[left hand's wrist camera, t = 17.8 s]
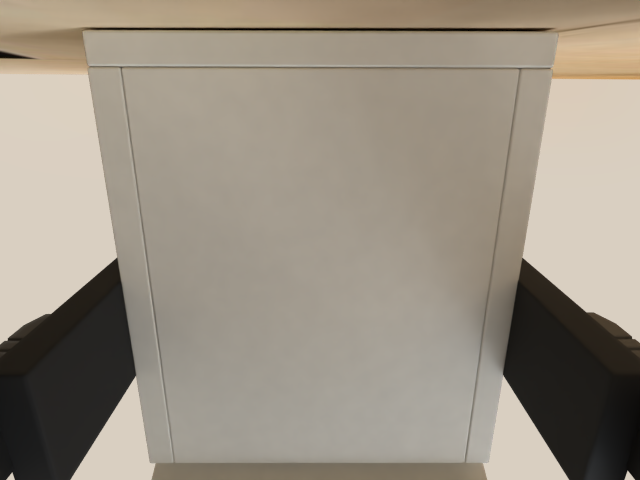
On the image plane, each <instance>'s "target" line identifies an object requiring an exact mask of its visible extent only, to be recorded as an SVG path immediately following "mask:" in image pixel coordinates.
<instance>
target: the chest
mask: <svg viewBox="0 0 640 480" xmlns="http://www.w3.org/2000/svg"><path fill="white" fill-rule="evenodd" d="M82 35H83V41H84V47H85V54H86V60H87V64H88V66H90V67H89V68H88V75H89V81H90V87H91V94H92V100H93V107H94V113H95V119H96V125H97V132H98V138H99V144H100V151H101V157H102V163H103V170H104V176H105V182H106V189H107V195H108V201H109V207H110V214H111V220H112V226H113V233H114V239H115V245H116V252H117V258H118V264H119V271H120V277H121V283H122V290H123V296H124V302H125V309H126V315H127V321H128V327H129V334H130V340H131V346H132V353H133V359H134V365H135V371H136V378H137V384H138V391H139V397H140V403H141V410H142V416H143V422H144V428H145V435H146V441H147V447H148V454H149V460H150V463H174V462H175V463H464V461H465V462H466V463H488V462H489V457H490V451H491V445H492V439H493V433H494V427H495V421H496V414H497V409H498V402H499V396H500V390H501V384H502V378H503V370H504V364H505V358H506V352H507V346H508V339H509V333H510V327H511V321H512V315H513V308H514V302H515V296H516V290H517V284H518V280H519V275H520V268H521V262H522V256H523V250H524V244H525V238H526V232H527V226H528V220H529V214H530V208H531V201H532V195H533V189H534V183H535V177H536V171H537V165H538V159H539V153H540V147H541V141H542V134H543V128H544V122H545V116H546V110H547V104H548V98H549V92H550V86H551V80H552V74H553V70H552V69H550V68H552V67H553V65H554V60H555V54H556V48H557V42H558V36H559V34H558V32H551V31H274V30H84V31H83V32H82Z"/></svg>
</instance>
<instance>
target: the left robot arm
mask: <svg viewBox="0 0 640 480" xmlns="http://www.w3.org/2000/svg"><path fill="white" fill-rule="evenodd" d="M503 375H504V377H505V379H506V380H507V382H508V383H509V385H510V386H511V388H512V390H513V391H514V393H515V394H516V396H517V398H518V399H519V401H520V402H521V404H522V406H523V407H524V409H525V410H526V412H527V413H528V415H529V417H530V418H531V420H532V421H533V423H534V424H535V426H536V428H537V429H538V431H539V433H540V434H541V436H542V437H543V439H544V440H545V442H546V444H547V445H548V447H549V448H550V450H551V452H552V453H553V455H554V456H555V458H556V459H557V461H558V463H559V464H560V466H561V467H562V469H563V471H564V472H565V474H566V475H567V477H568V478H569V480H624V479H625V476H626V473H627V470H628V471H629V472H630V474H631V475H632V476H633V478H634V479H635V480H640V343H639V342H638V341H637V340H635V339H632V336H630V335H629V334H628V333H627V332H626V331H624V330H623V329H622V328H621V327H619V326H618V325H617V324H615V323H613V322H611V321H610V320H607V319H606V318H604V317H601V316H599V315H597V314H595V313H586V312H585V311H584V310H583V309H582V308H581V307H579V306H578V305H577V304H576V303H575V302H574V301H572V300H571V299H570V298H569V297H568V296H566V295H565V294H564V293H563V292H562V291H561V290H559V289H558V288H557V287H556V286H555V285H554V284H552V283H551V282H550V281H549V280H548V279H547V278H545V277H544V276H543V275H542V274H541V273H540V272H538V271H537V270H536V269H535V268H534V267H533V266H531V265H530V264H529V263H528V262H527V261H526V260H524V259H523V258H522V262H521V268H520V275H519V280H518V284H517V290H516V296H515V302H514V308H513V315H512V321H511V327H510V333H509V339H508V346H507V352H506V358H505V364H504V370H503ZM135 376H136V371H135V365H134V359H133V353H132V346H131V340H130V334H129V327H128V321H127V315H126V309H125V302H124V296H123V290H122V283H121V277H120V271H119V264H118V258H116V259H115V260H114V261H113V262H112V263H110V264H109V265H108V266H107V267H106V268H105V269H103V270H102V271H101V272H100V273H99V274H98V275H96V276H95V277H94V278H93V279H92V280H90V281H89V282H88V283H87V284H86V285H85V286H83V287H82V288H81V289H80V290H79V291H78V292H76V293H75V294H74V295H73V296H72V297H71V298H69V299H68V300H67V301H66V302H65V303H64V304H62V305H61V306H60V307H59V308H58V309H57V310H55V311H54V312H53V313H52V314H45V315H43V316H41V317H39V318H37V319H35V320H33V321H31V322H29V323H27V324H25V325H24V326H22V327H21V328H20V329H19V330H18V331H16V332H15V333H14V334H13V335H11V336H10V337H9V338H8V341H4V342H3V343H2V344H0V480H6V479H7V478H8V477H9V475H10V474H11V473H12V472H13V475H14V478H15V480H70V479H71V478H72V476H73V475H74V473H75V471H76V470H77V468H78V467H79V465H80V463H81V462H82V460H83V459H84V457H85V455H86V454H87V452H88V451H89V449H90V448H91V446H92V444H93V443H94V441H95V440H96V438H97V436H98V435H99V433H100V432H101V430H102V429H103V427H104V425H105V424H106V422H107V421H108V419H109V417H110V416H111V414H112V413H113V411H114V410H115V408H116V406H117V405H118V403H119V402H120V400H121V398H122V397H123V395H124V394H125V392H126V390H127V389H128V387H129V386H130V384H131V383H132V381H133V379H134V378H135Z"/></svg>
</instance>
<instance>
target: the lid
mask: <svg viewBox="0 0 640 480" xmlns="http://www.w3.org/2000/svg"><path fill="white" fill-rule="evenodd" d="M152 480H487V478H486V474H485V470H484V466H483V463H466V462H465V461H464V463H175V462H174V463H156V464H155V468H154V473H153V476H152Z"/></svg>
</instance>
